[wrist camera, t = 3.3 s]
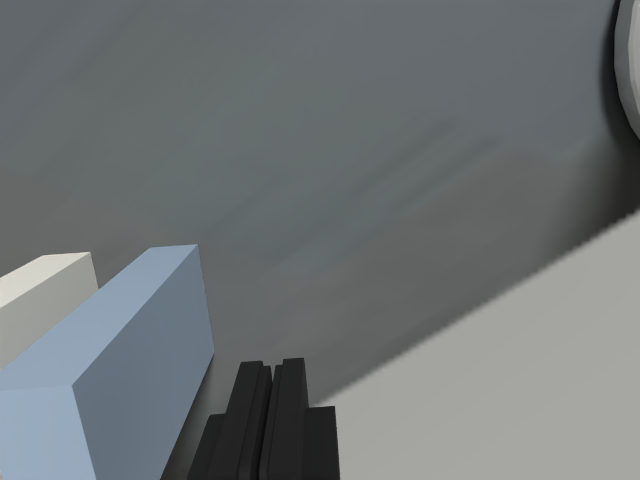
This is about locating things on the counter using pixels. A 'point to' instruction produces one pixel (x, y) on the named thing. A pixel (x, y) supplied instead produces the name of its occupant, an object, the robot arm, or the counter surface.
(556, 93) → the counter surface
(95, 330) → the domino
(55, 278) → the domino
